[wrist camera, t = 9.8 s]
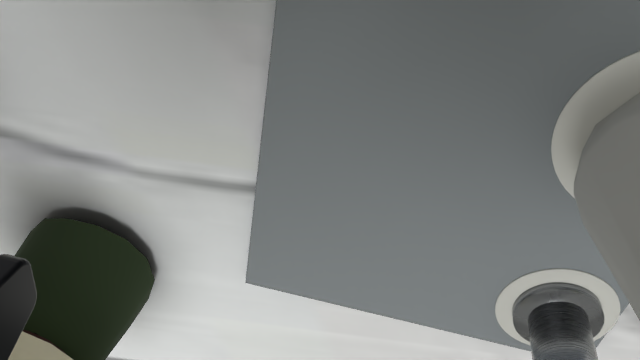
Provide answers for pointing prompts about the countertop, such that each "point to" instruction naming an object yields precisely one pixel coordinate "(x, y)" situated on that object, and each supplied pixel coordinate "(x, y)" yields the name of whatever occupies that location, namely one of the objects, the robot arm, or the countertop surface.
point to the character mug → (80, 291)
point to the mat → (436, 154)
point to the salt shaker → (614, 194)
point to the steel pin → (559, 321)
